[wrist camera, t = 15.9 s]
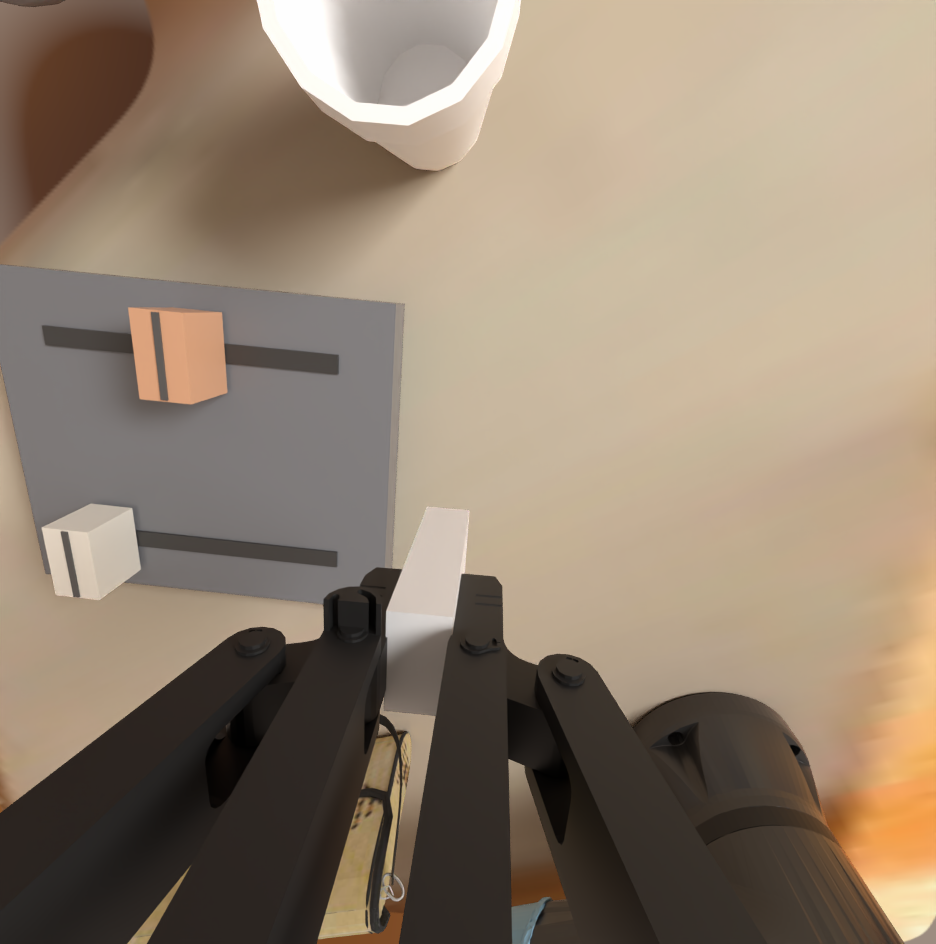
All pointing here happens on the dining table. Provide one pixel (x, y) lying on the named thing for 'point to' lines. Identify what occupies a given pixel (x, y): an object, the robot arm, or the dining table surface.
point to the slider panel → (212, 430)
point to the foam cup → (398, 67)
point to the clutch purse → (356, 848)
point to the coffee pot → (32, 2)
